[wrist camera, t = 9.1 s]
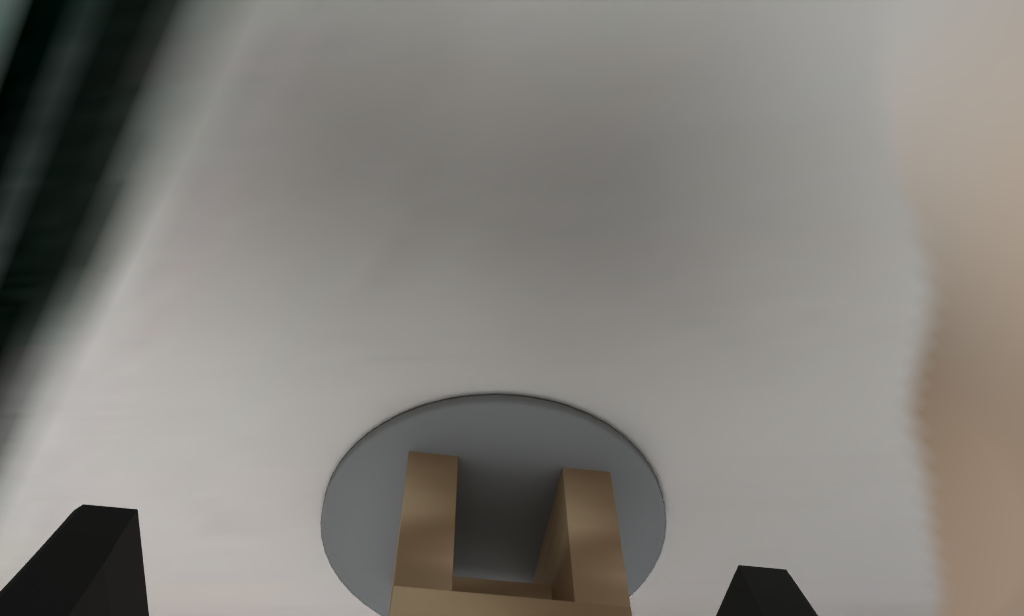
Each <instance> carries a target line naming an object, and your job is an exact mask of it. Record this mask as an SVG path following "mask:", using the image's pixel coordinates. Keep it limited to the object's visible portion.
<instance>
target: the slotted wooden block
mask: <svg viewBox="0 0 1024 616" xmlns="http://www.w3.org/2000/svg"><path fill="white" fill-rule="evenodd" d="M457 467H458V456H451V455H441V454H432V453H422V452H412V451H409V454H408V461H407V469H406V477H405V484H404V492H403V500H402V508H401V515H400V523H399V531H398V539H397V546H396V554H395V562H394V570H393V577H392V585H391V594H390V603H389V612H388V616H632V614H631V607H630V600H629V594H628V587H627V580H626V574H625V567H624V561H623V554H622V547H621V541H620V534H619V527H618V521H617V514H616V507H615V501H614V494H613V488H612V481H611V474H610V472H604V471H595V470H585V469H575V468H566V467H563V468H562V472H561V476H560V479H559V483H558V487H557V491H556V495H555V498H554V502H553V506H552V510H551V514H550V518H549V521H548V525H547V529H546V533H545V537H544V540H543V544H542V548H541V552H540V556H539V560H538V563H537V567H536V571H535V575H534V579H533V582H532V583H523V582H512V581H501V580H490V579H479V578H468V577H457V576H453V555H454V533H455V511H456V489H457Z"/></svg>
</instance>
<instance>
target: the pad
mask: <svg viewBox="0 0 1024 616" xmlns="http://www.w3.org/2000/svg"><path fill="white" fill-rule="evenodd" d="M409 451H412V452H422V453H432V454H441V455H451V456H458V467H457V489H456V511H455V533H454V555H453V576H457V577H468V578H479V579H490V580H501V581H512V582H523V583H532V582H533V579H534V575H535V571H536V567H537V563H538V560H539V556H540V552H541V548H542V544H543V540H544V537H545V533H546V529H547V525H548V521H549V518H550V514H551V510H552V506H553V502H554V498H555V495H556V491H557V487H558V483H559V479H560V476H561V472H562V468H563V467H566V468H575V469H585V470H595V471H604V472H610V474H611V481H612V488H613V494H614V501H615V507H616V514H617V521H618V527H619V534H620V541H621V547H622V554H623V561H624V567H625V574H626V580H627V587H628V594H629V597H630V596H631V595H632V594H633V593H634V592H635V591H636V590H637V589H638V588H639V587H640V585H641V584H642V583H643V582H644V581H645V580H646V578H647V577H648V575H649V574H650V572H651V571H652V569H653V568H654V566H655V564H656V562H657V560H658V558H659V556H660V553H661V550H662V547H663V543H664V539H665V530H666V517H665V508H664V502H663V498H662V494H661V490H660V487H659V484H658V481H657V478H656V476H655V475H654V473H653V471H652V469H651V467H650V465H649V464H648V462H647V461H646V460H645V458H644V457H643V456H642V454H641V453H640V452H639V450H638V449H637V448H636V447H635V446H634V445H632V444H631V443H630V442H629V441H628V440H627V439H626V438H625V437H624V436H623V435H621V434H620V433H619V432H617V431H616V430H614V429H613V428H612V427H610V426H609V425H607V424H605V423H604V422H602V421H600V420H598V419H596V418H594V417H593V416H591V415H589V414H586V413H584V412H581V411H579V410H576V409H574V408H571V407H569V406H565V405H562V404H558V403H554V402H551V401H547V400H542V399H536V398H530V397H523V396H510V395H478V396H467V397H460V398H453V399H447V400H443V401H439V402H435V403H431V404H427V405H424V406H421V407H418V408H416V409H413V410H410V411H408V412H405V413H402V414H400V415H398V416H397V417H395V418H393V419H391V420H389V421H387V422H385V423H383V424H382V425H380V426H379V427H377V428H376V429H374V430H373V431H371V432H370V433H368V434H367V435H366V436H364V437H363V438H362V439H361V440H360V441H359V442H358V443H357V444H356V445H355V446H353V447H352V448H351V449H350V451H349V452H348V453H347V454H346V456H345V457H344V458H343V459H342V461H341V462H340V463H339V465H338V467H337V468H336V470H335V472H334V474H333V475H332V477H331V479H330V482H329V485H328V488H327V491H326V494H325V498H324V503H323V509H322V515H321V537H322V542H323V546H324V550H325V553H326V556H327V558H328V560H329V563H330V565H331V567H332V568H333V570H334V572H335V573H336V575H337V576H338V578H339V579H340V581H341V582H342V583H343V584H344V585H345V586H346V587H347V589H348V590H349V591H350V592H351V593H352V594H353V595H354V596H355V597H357V598H358V599H359V600H360V601H361V602H362V603H363V604H365V605H366V606H368V607H369V608H371V609H372V610H374V611H375V612H377V613H378V614H380V615H381V616H388V612H389V603H390V594H391V585H392V577H393V570H394V562H395V554H396V546H397V539H398V531H399V523H400V515H401V508H402V500H403V492H404V484H405V477H406V469H407V461H408V454H409Z"/></svg>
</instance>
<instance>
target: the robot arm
mask: <svg viewBox="0 0 1024 616" xmlns="http://www.w3.org/2000/svg"><path fill="white" fill-rule="evenodd" d="M0 616H149V612H148V603H147V593H146V584H145V575H144V566H143V556H142V547H141V538H140V528H139V519H138V510H137V509H127V508H116V507H105V506H94V505H81V506H80V507H78V508H77V509H75V510H74V511H73V512H72V513H71V514H70V515H69V517H68V518H67V519H66V520H65V521H64V522H63V523H62V525H61V526H60V527H59V528H58V529H57V530H56V531H55V532H54V534H53V535H52V536H51V537H50V538H49V539H48V540H47V541H46V542H45V544H44V545H43V546H42V547H41V548H40V549H39V550H38V551H37V552H36V554H35V555H34V556H33V557H32V558H31V559H30V560H29V561H28V562H27V563H26V564H25V566H24V567H23V568H22V569H21V570H20V571H19V572H18V573H17V574H16V575H15V576H14V577H13V578H12V580H11V581H10V582H9V583H8V584H7V585H6V586H5V587H4V588H3V589H2V590H1V591H0ZM716 616H818V615H817V614H816V612H815V611H814V609H813V608H812V606H811V605H810V603H809V602H808V600H807V599H806V598H805V596H804V595H803V593H802V592H801V590H800V589H799V587H798V586H797V584H796V583H795V582H794V580H793V579H792V577H791V576H790V575H789V573H788V572H787V570H784V569H774V568H763V567H752V566H741V565H738V568H737V570H736V572H735V574H734V577H733V579H732V581H731V583H730V586H729V588H728V590H727V592H726V595H725V597H724V599H723V601H722V604H721V606H720V608H719V610H718V613H717V615H716Z"/></svg>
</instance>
